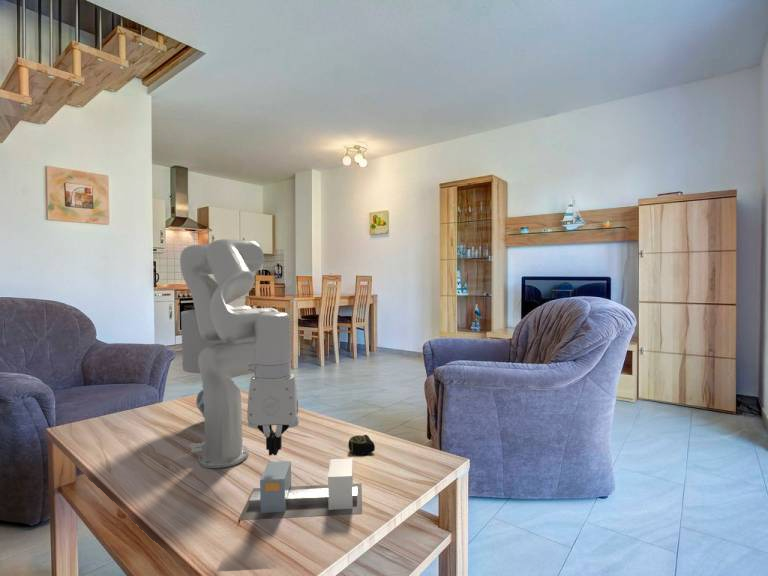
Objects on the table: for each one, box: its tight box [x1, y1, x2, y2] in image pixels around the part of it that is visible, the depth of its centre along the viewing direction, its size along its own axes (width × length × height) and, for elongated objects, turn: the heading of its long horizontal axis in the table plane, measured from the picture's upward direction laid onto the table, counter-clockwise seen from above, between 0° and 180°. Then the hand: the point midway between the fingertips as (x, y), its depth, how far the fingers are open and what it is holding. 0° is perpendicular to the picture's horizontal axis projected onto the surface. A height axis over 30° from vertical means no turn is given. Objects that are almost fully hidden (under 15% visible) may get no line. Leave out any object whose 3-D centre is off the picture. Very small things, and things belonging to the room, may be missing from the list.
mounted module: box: [327, 458, 354, 510], centre depth 89 cm, size 5×8×7 cm, turn 4°
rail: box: [248, 487, 357, 507], centre depth 89 cm, size 23×4×2 cm, turn 94°
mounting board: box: [237, 482, 363, 525], centre depth 89 cm, size 25×12×1 cm, turn 94°
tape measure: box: [347, 434, 376, 456], centre depth 115 cm, size 7×7×4 cm
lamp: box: [180, 309, 235, 424], centre depth 139 cm, size 22×22×38 cm
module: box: [259, 460, 292, 513], centre depth 88 cm, size 5×8×7 cm, turn 4°
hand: (274, 452), depth 88 cm, fingers closed
